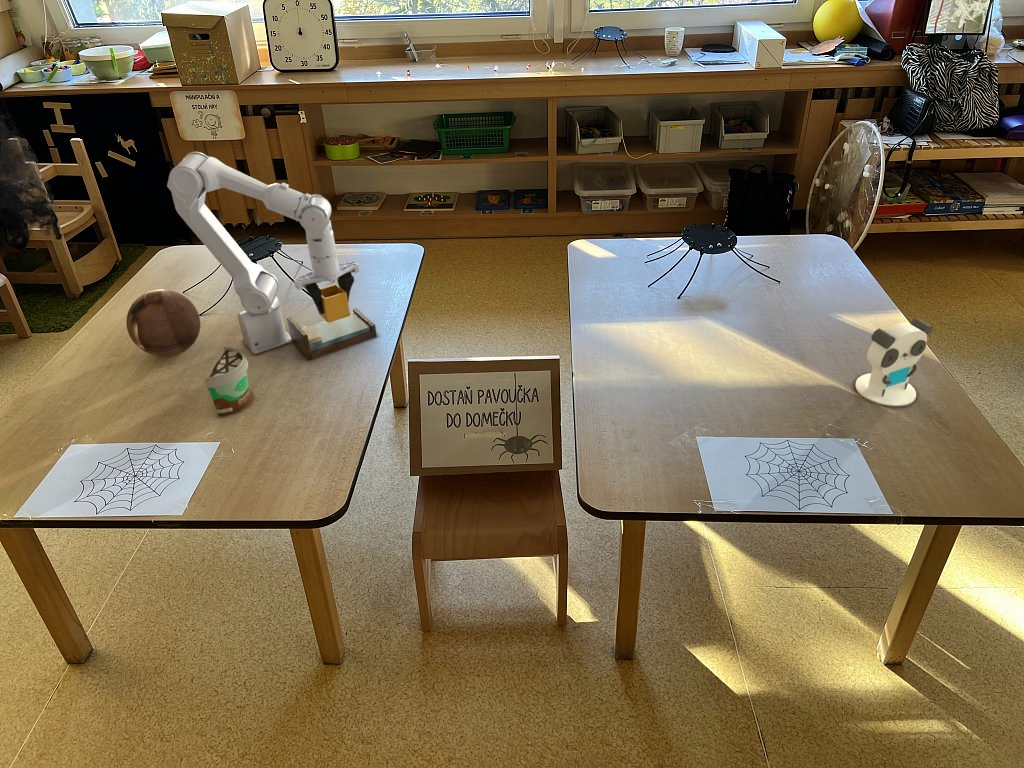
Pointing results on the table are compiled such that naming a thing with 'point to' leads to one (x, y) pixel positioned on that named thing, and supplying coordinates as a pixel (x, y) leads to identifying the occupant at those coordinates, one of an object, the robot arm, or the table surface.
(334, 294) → the small bin
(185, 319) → the wooden sphere
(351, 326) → the toy bed
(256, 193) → the robot arm
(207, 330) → the table surface
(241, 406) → the food container
